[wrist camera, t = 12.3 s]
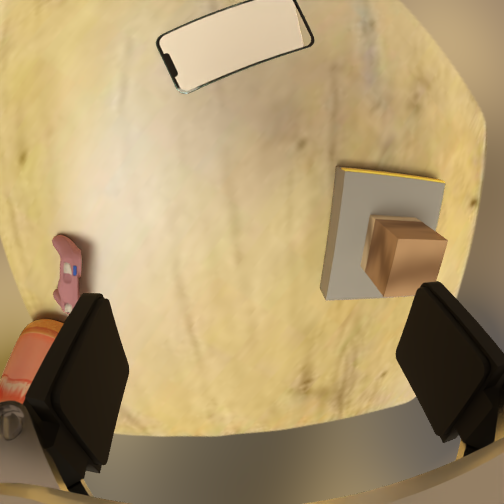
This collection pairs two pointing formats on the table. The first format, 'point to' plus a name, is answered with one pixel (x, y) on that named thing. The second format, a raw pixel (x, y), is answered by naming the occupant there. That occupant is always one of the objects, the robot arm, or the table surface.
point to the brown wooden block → (401, 254)
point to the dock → (357, 218)
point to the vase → (27, 358)
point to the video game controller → (68, 273)
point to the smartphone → (230, 41)
